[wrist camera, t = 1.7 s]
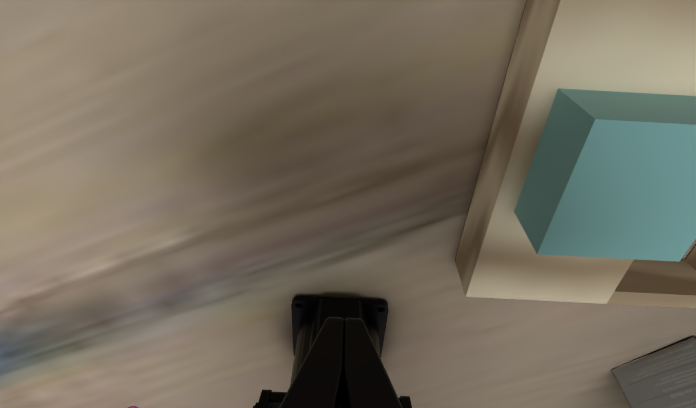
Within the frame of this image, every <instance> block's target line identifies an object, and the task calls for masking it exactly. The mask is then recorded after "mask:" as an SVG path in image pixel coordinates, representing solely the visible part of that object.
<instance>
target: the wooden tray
mask: <svg viewBox="0 0 696 408" xmlns="http://www.w3.org/2000/svg"><path fill="white" fill-rule="evenodd" d="M558 88H561V89H578V90H596V91H614V92H632V93H649V94H667V95H685V96H696V0H527V2H526V5H525V9H524V13H523V16H522V20H521V23H520V27H519V31H518V34H517V38H516V42H515V45H514V49H513V52H512V56H511V60H510V63H509V67H508V70H507V74H506V78H505V81H504V85H503V89H502V92H501V96H500V99H499V103H498V107H497V110H496V114H495V117H494V121H493V125H492V128H491V132H490V136H489V139H488V143H487V146H486V150H485V154H484V157H483V161H482V165H481V168H480V172H479V175H478V179H477V183H476V186H475V190H474V193H473V197H472V201H471V204H470V208H469V212H468V215H467V219H466V222H465V226H464V230H463V233H462V237H461V240H460V244H459V248H458V251H457V255H456V259H455V261H456V265H457V268H458V272H459V275H460V279H461V282H462V286H463V289H464V293H465V296H466V297H481V298H502V299H522V300H542V301H562V302H582V303H603V304H623V305H643V306H663V307H683V308H696V245H695V247H694V248H693V250H692V251H691V252H690V254H689V255H688V256H687V258H686V259H681V260H680V261H679V262H676V261H656V260H637V259H617V258H598V257H578V256H558V255H539V254H536V252H535V250H534V248H533V246H532V244H531V242H530V241H529V239H528V237H527V235H526V233H525V231H524V229H523V228H522V226H521V224H520V222H519V220H518V218H517V216H516V215H515V213H514V210H515V208H516V205H517V202H518V199H519V196H520V194H521V191H522V188H523V185H524V182H525V180H526V177H527V174H528V171H529V169H530V166H531V163H532V160H533V157H534V155H535V152H536V149H537V146H538V143H539V141H540V138H541V135H542V132H543V129H544V127H545V124H546V121H547V118H548V115H549V113H550V110H551V107H552V104H553V101H554V99H555V96H556V93H557V90H558Z"/></svg>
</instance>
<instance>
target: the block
mask: <svg viewBox="0 0 696 408" xmlns="http://www.w3.org/2000/svg"><path fill="white" fill-rule="evenodd" d="M514 213H515V215H516V216H517V218H518V220H519V222H520V224H521V226H522V228H523V229H524V231H525V233H526V235H527V237H528V239H529V241H530V242H531V244H532V246H533V248H534V250H535V252H536V254H539V255H558V256H578V257H598V258H617V259H637V260H656V261H676V262H679V261H680V260H681V259H682V257H683V256H684V255H685V253H686V252H687V250H688V249H689V248H690V246H691V245H692V243H693V242H694V241H695V239H696V96H685V95H667V94H649V93H632V92H614V91H596V90H578V89H561V88H558V90H557V93H556V96H555V99H554V101H553V104H552V107H551V110H550V113H549V115H548V118H547V121H546V124H545V127H544V129H543V132H542V135H541V138H540V141H539V143H538V146H537V149H536V152H535V155H534V157H533V160H532V163H531V166H530V169H529V171H528V174H527V177H526V180H525V182H524V185H523V188H522V191H521V194H520V196H519V199H518V202H517V205H516V208H515V210H514Z"/></svg>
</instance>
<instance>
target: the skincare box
mask: <svg viewBox="0 0 696 408" xmlns="http://www.w3.org/2000/svg"><path fill="white" fill-rule="evenodd" d="M612 373H613V374H614V376H615V378H616V380H617V382H618V383H619V385H620V387H621V389H622V391H623V393H624V395H625V397H626V399H627V401H628V403H629V405H630V407H631V408H696V339H695V338H694V337H693V338H690V339H688V340H685V341H682V342H680V343H677V344H675V345H672V346H670V347H667V348H665V349H662V350H660V351H657V352H655V353H652V354H650V355H647V356H644V357H641V358H639V359H636V360H634V361H631V362H629V363H626V364H624V365H621V366H619V367H617V368H615V369H613V370H612Z"/></svg>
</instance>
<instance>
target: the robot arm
mask: <svg viewBox="0 0 696 408" xmlns="http://www.w3.org/2000/svg"><path fill="white" fill-rule="evenodd" d="M387 315H388V303H387V302H386V301H384V300H373V299H352V298H332V297H312V296H296V297H294V298H293V300H292V327H293V349H294V356H295V357H294V364H293V371H292V378H291V385H290V388H289V390H288V392H272V390H262V392H261V396H260V399H259V402H258V403H256V405H255V406H253V408H412V406H411V401H410V397H409V396H400V398H398V397H397V394H396V392H395V390H394V388H393V386H392V383H391V381H390V379H389V377H388V375H387V372H386V370H385V368H384V366H383V364H382V361H381V359H380V358H381V352H382V346H383V340H384V334H385V328H386V322H387Z"/></svg>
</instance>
